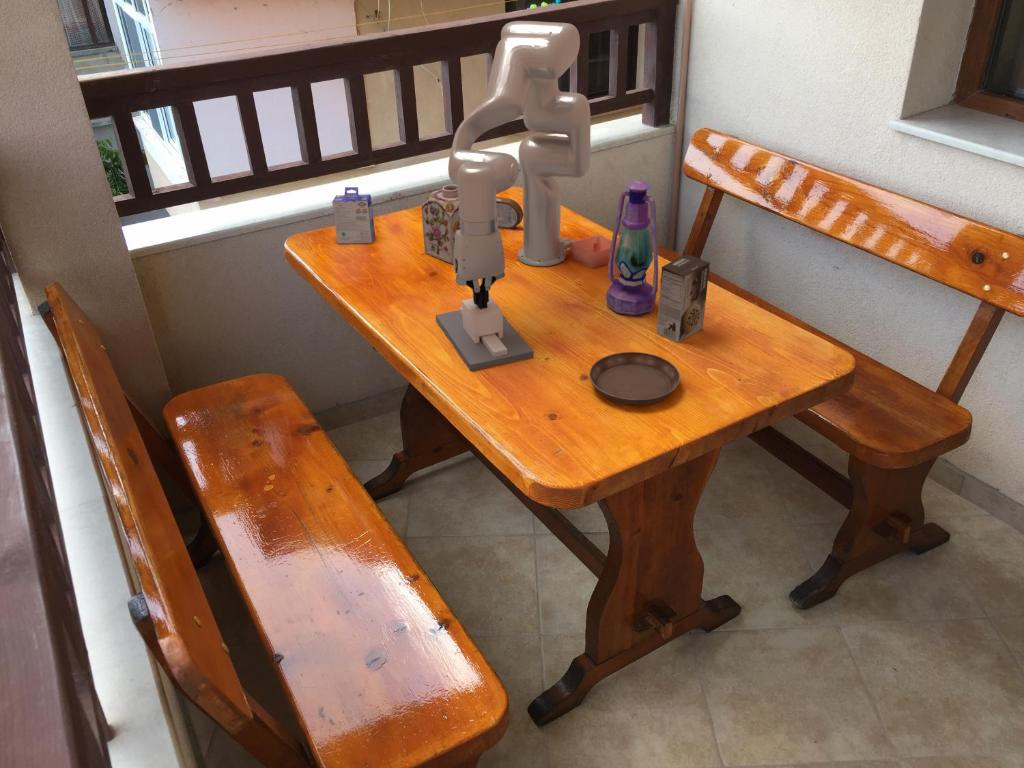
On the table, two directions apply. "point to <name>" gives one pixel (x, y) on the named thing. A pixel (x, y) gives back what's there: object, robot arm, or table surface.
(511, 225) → the tin
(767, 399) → the table surface
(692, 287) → the coffee box
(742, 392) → the table surface
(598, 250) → the pottery
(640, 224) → the lantern
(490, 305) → the block
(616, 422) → the table surface
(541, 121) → the robot arm
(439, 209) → the decorative jar
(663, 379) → the plant saucer
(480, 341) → the rail board
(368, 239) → the ink cartridge box
